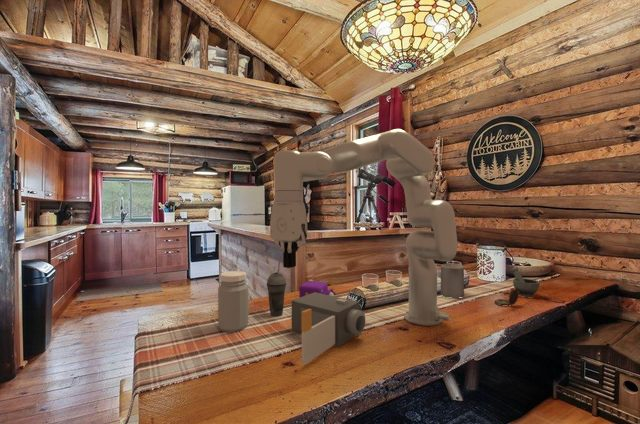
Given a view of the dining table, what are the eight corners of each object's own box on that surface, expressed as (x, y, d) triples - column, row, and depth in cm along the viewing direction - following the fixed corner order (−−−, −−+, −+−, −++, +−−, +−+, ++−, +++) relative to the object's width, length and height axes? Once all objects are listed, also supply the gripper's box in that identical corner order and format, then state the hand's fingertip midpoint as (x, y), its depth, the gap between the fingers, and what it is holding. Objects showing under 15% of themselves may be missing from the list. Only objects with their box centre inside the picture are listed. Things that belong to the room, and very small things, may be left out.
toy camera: (332, 312, 114) (332, 286, 114) (297, 310, 117) (297, 284, 117) (336, 304, 125) (336, 279, 125) (304, 301, 127) (304, 278, 127)
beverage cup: (267, 311, 116) (267, 259, 115) (286, 310, 116) (286, 259, 116) (265, 318, 108) (265, 262, 108) (286, 317, 109) (285, 262, 109)
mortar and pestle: (543, 297, 134) (544, 270, 133) (531, 300, 129) (532, 272, 129) (517, 291, 144) (517, 266, 143) (505, 293, 139) (505, 268, 139)
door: (332, 343, 86) (332, 298, 86) (335, 344, 86) (335, 298, 86) (301, 363, 75) (301, 311, 75) (304, 364, 74) (304, 312, 74)
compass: (498, 301, 129) (498, 284, 129) (519, 306, 122) (519, 288, 122) (489, 304, 124) (489, 287, 124) (510, 309, 118) (510, 291, 118)
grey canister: (446, 291, 143) (446, 260, 143) (467, 295, 136) (467, 262, 136) (436, 295, 137) (436, 262, 136) (458, 300, 129) (458, 265, 129)
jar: (211, 330, 98) (211, 275, 97) (230, 320, 107) (230, 269, 107) (237, 334, 94) (236, 277, 94) (254, 323, 103) (254, 271, 103)
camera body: (369, 336, 93) (369, 301, 93) (348, 350, 84) (348, 312, 84) (314, 320, 106) (314, 289, 106) (291, 331, 97) (291, 298, 97)
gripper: (259, 198, 82) (260, 265, 82) (299, 197, 72) (300, 273, 73) (279, 198, 88) (280, 261, 88) (319, 197, 78) (320, 268, 79)
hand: (289, 266), depth 80 cm, fingers closed
